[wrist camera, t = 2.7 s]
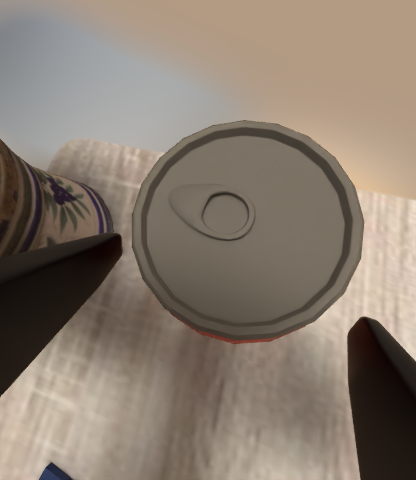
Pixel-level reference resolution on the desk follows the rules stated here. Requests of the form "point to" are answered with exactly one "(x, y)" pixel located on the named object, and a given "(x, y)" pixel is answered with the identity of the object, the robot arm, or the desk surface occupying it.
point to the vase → (44, 207)
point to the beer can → (247, 231)
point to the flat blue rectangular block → (53, 473)
